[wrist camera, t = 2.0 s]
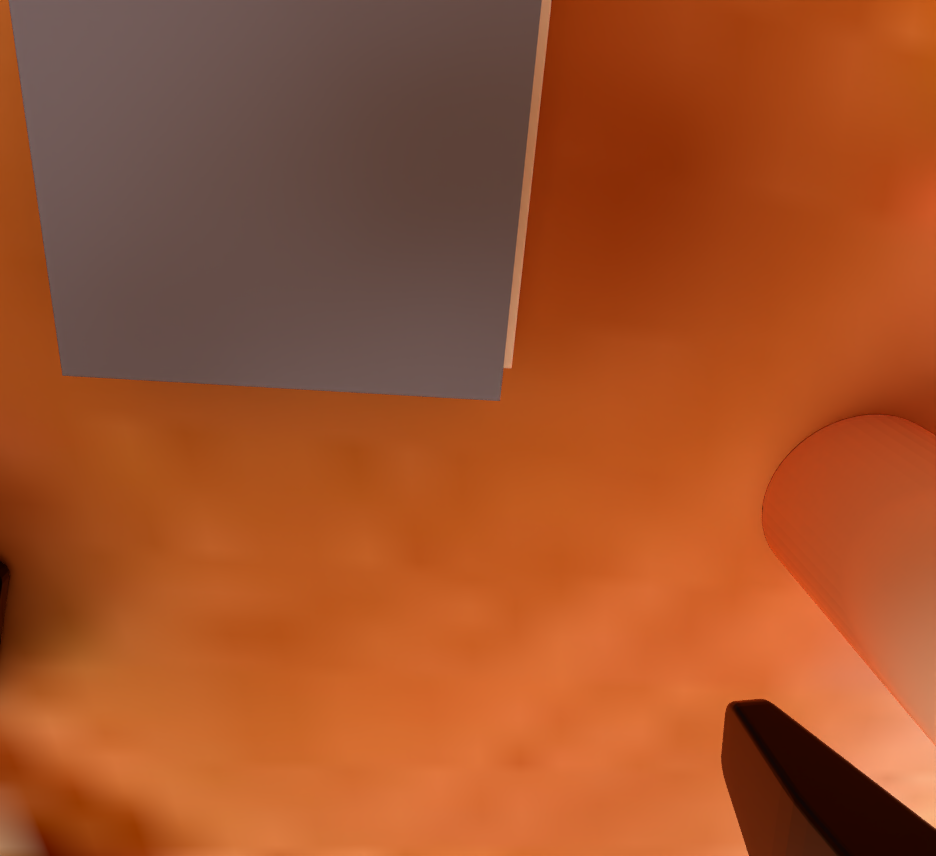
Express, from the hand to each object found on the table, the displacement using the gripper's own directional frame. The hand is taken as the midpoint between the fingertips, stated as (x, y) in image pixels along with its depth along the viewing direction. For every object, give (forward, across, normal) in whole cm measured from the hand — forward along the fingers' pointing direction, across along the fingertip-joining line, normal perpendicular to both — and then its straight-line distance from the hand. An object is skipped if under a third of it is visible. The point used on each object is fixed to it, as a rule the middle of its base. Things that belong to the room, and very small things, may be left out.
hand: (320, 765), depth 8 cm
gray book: (+13, +1, -8) cm, 15 cm away
